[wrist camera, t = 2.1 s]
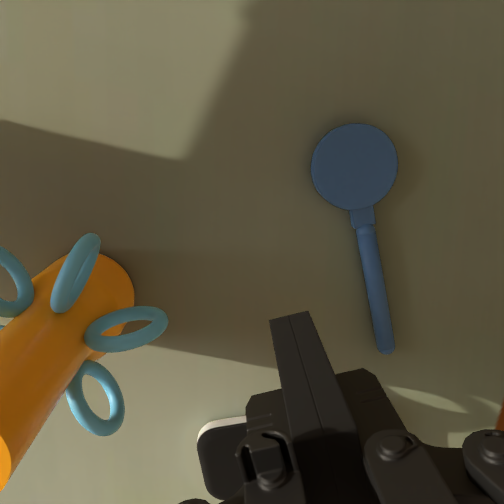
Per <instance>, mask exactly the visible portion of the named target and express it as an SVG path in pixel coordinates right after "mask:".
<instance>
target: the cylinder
mask: <svg viewBox="0 0 504 504" xmlns="http://www.w3.org/2000/svg"><path fill="white" fill-rule="evenodd" d="M100 244H101V242H100V238H99V236H98V235H96V234H94V233H87V234H85V235H83V236H82V237H81V238H80V239H79V240H78V241H77V243H76V244H75V245H74V247H73V248H72V250H71V251H70V253H69V254H67V255H65V256H63V257H61V258H59V259H58V260H56V261H55V262H54V263H52V264H51V265H50V266H48V267H47V268H46V269H44V270H43V271H42V272H40V273H39V274H38V275H36V276H35V277H34V278H33V279H31V278H30V276H29V274H28V272H27V270H26V269H25V267H24V266H23V265H22V263H21V262H20V261H19V260H18V259H17V258H16V257H15V256H14V255H13V254H12V253H11V252H9V251H8V250H6V249H5V248H3V247H2V246H0V264H1V265H2V266H3V267H4V268H5V269H6V270H7V271H8V272H9V274H10V275H11V277H12V278H13V280H14V282H15V284H16V287H17V291H18V296H17V299H16V301H13V302H10V301H6V300H3V299H1V298H0V317H6V318H12V317H14V319H13V320H11V321H10V322H9V323H8V324H7V325H6V326H3V325H0V491H1V490H2V489H3V488H4V486H5V485H6V483H7V482H8V480H9V479H10V477H11V475H12V474H13V472H14V471H15V469H16V467H17V466H18V464H19V463H20V461H21V460H22V458H23V456H24V455H25V453H26V452H27V450H28V448H29V447H30V445H31V444H32V442H33V441H34V439H35V437H36V436H37V434H38V433H39V431H40V429H41V428H42V426H43V425H44V423H45V422H46V420H47V418H48V417H49V415H50V414H51V412H52V411H53V409H54V407H55V406H56V404H57V403H58V401H59V400H60V398H61V396H62V395H63V393H64V392H65V390H66V396H67V400H68V404H69V406H70V409H71V411H72V413H73V414H74V416H75V418H76V419H77V420H78V422H79V423H80V424H81V425H82V426H83V427H84V428H85V429H86V430H88V431H89V432H91V433H93V434H95V435H98V436H108V435H111V434H113V433H115V432H116V431H117V430H118V429H119V428H120V426H121V424H122V422H123V419H124V413H125V406H124V400H123V396H122V393H121V390H120V388H119V386H118V384H117V382H116V380H115V379H114V377H113V376H112V375H111V373H110V372H109V371H108V370H107V369H106V368H105V367H103V366H102V365H101V364H99V363H97V362H95V361H96V360H97V359H99V358H101V357H102V356H104V355H105V354H106V353H112V352H121V351H127V350H131V349H134V348H137V347H140V346H143V345H145V344H147V343H149V342H151V341H153V340H155V339H156V338H157V337H159V336H160V335H161V334H162V333H163V332H164V331H165V329H166V328H167V325H168V316H167V314H166V313H165V312H164V311H163V310H161V309H159V308H157V307H152V306H135V307H134V301H135V294H134V288H133V285H132V282H131V280H130V278H129V276H128V274H127V273H126V271H125V270H124V269H123V268H122V267H121V266H120V265H119V264H118V263H116V262H115V261H114V260H113V259H111V258H109V257H107V256H105V255H102V254H99V250H100ZM135 320H150V321H153V322H152V323H151V324H149V325H148V326H146V327H144V328H142V329H140V330H138V331H135V332H132V333H128V334H124V335H120V334H121V332H122V330H123V328H124V326H125V324H126V323H127V322H129V321H135ZM85 374H87V375H90V376H92V377H94V378H95V379H96V380H97V381H98V382H99V383H100V384H101V385H102V387H103V388H104V390H105V392H106V394H107V396H108V399H109V403H110V417H109V419H108V420H103V419H101V418H99V417H98V416H96V415H95V414H94V413H93V411H92V410H91V409H90V407H89V406H88V404H87V402H86V400H85V398H84V395H83V391H82V378H83V376H84V375H85Z"/></svg>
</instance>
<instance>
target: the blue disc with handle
mask: <svg viewBox="0 0 504 504" xmlns="http://www.w3.org/2000/svg"><path fill="white" fill-rule="evenodd" d="M397 170H398V157H397V153H396V150H395V147H394V145H393V143H392V141H391V140H390V138H389V137H388V136H387V135H386V134H385V133H384V132H383V131H381V130H380V129H378V128H376V127H374V126H371V125H368V124H361V123H355V124H346V125H342V126H339V127H337V128H335V129H333V130H332V131H330V132H329V133H328V134H326V135H325V136H324V137H323V138H322V139H321V141H320V142H319V143H318V145H317V147H316V149H315V151H314V153H313V156H312V160H311V176H312V180H313V183H314V186H315V188H316V189H317V191H318V192H319V194H320V195H321V196H322V197H323V198H324V199H325V200H327V201H328V202H329V203H331V204H332V205H334V206H336V207H338V208H341V209H346V210H349V215H350V220H351V225H352V227H353V228H355V229H356V235H357V240H358V246H359V251H360V256H361V262H362V267H363V273H364V278H365V283H366V289H367V294H368V300H369V305H370V310H371V316H372V321H373V327H374V332H375V337H376V343H377V348H378V350H379V351H380V352H381V353H382V354H386V355H387V354H391V353H392V352H393V351H394V349H395V342H394V336H393V330H392V324H391V319H390V313H389V307H388V301H387V295H386V290H385V284H384V278H383V272H382V266H381V260H380V255H379V249H378V243H377V237H376V231H375V228H374V226H373V224H376V221H375V215H374V209H373V205H374V204H375V203H377V202H379V201H380V200H381V199H382V198H383V197H384V196H385V195H386V194H387V193H388V192H389V190H390V189H391V187H392V185H393V183H394V181H395V178H396V175H397Z"/></svg>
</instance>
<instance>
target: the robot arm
mask: <svg viewBox="0 0 504 504" xmlns="http://www.w3.org/2000/svg"><path fill="white" fill-rule="evenodd" d="M269 323H270V329H271V334H272V339H273V345H274V350H275V355H276V360H277V366H278V371H279V376H280V382H281V387H282V389H278V390H273V391H269V392H265V393H261V394H257V395H252V396H251V398H250V400H249V402H248V404H247V406H246V421H247V422H246V428H247V436H246V437H245V438H244V439H243V440H242V441H241V442H240V444H239V445H238V446H237V450H236V454H235V456H236V460H237V463H238V466H239V469H240V473H241V476H242V479H243V482H244V484H243V485H242V487H241V488H240V489H239V490H238V491H237V492H236V493H235V494H234V495H233V496H231V497H229V498H228V499H226V500H225V501H223V502H221V503H219V504H504V431H500V430H487V429H484V430H480V431H477V432H473V433H472V434H470V435H469V436H468V437H466V438H465V440H464V443H463V445H462V448H442V447H434V446H430V445H427V444H424V443H422V442H421V441H420V440H419V439H418V438H417V437H416V436H415V435H413V434H411V433H409V432H408V431H407V430H406V428H405V426H404V424H403V423H402V421H401V419H400V418H399V416H398V414H397V412H396V411H395V409H394V407H393V405H392V404H391V402H390V400H389V399H388V397H387V395H386V393H385V392H384V390H383V388H382V387H381V385H380V383H379V381H378V380H377V378H376V376H375V375H373V374H372V373H370V372H369V371H367V370H366V369H364V368H361V369H357V370H353V371H348V372H344V373H340V374H336V375H335V374H334V371H333V369H332V366H331V364H330V362H329V359H328V357H327V354H326V352H325V350H324V347H323V345H322V342H321V340H320V338H319V335H318V333H317V330H316V328H315V326H314V323H313V321H312V318H311V316H310V314H309V311H305V312H301V313H296V314H292V315H288V316H284V317H280V318H276V319H272V320H269ZM179 504H210V503H208V502H207V501H206V500H202V499H196V498H195V499H190V500H185V501H183V502H181V503H179Z"/></svg>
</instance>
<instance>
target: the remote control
mask: <svg viewBox="0 0 504 504" xmlns="http://www.w3.org/2000/svg"><path fill="white" fill-rule="evenodd" d="M246 422H247V421H246V415H244V416H238V417H232V418H226V419H220V420H215V421H211V422H209V423H207V424H206V425H205V426H204V427H202V429H201V430H200V432H199V435H198V439H197V451H198V455H199V460H200V464H201V468H202V473H203V477H204V482H205V486H206V488H207V490H208V492H209V493H210V494H211V495H212V496H213V497H215V498H217V499H219V500H226V499H228V498H229V497H231V496H233V495H234V494H235V493H236V492H237V491H238V490H239V489H240V488H241V487H242V485H243V484H244V482H243V479H242V476H241V473H240V469H239V466H238V463H237V460H236V456H235V454H236V450H237V446H238V445H239V444H240V442H241V441H242V440H243V439H244V438H245V437H246V436H247V428H246Z"/></svg>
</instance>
